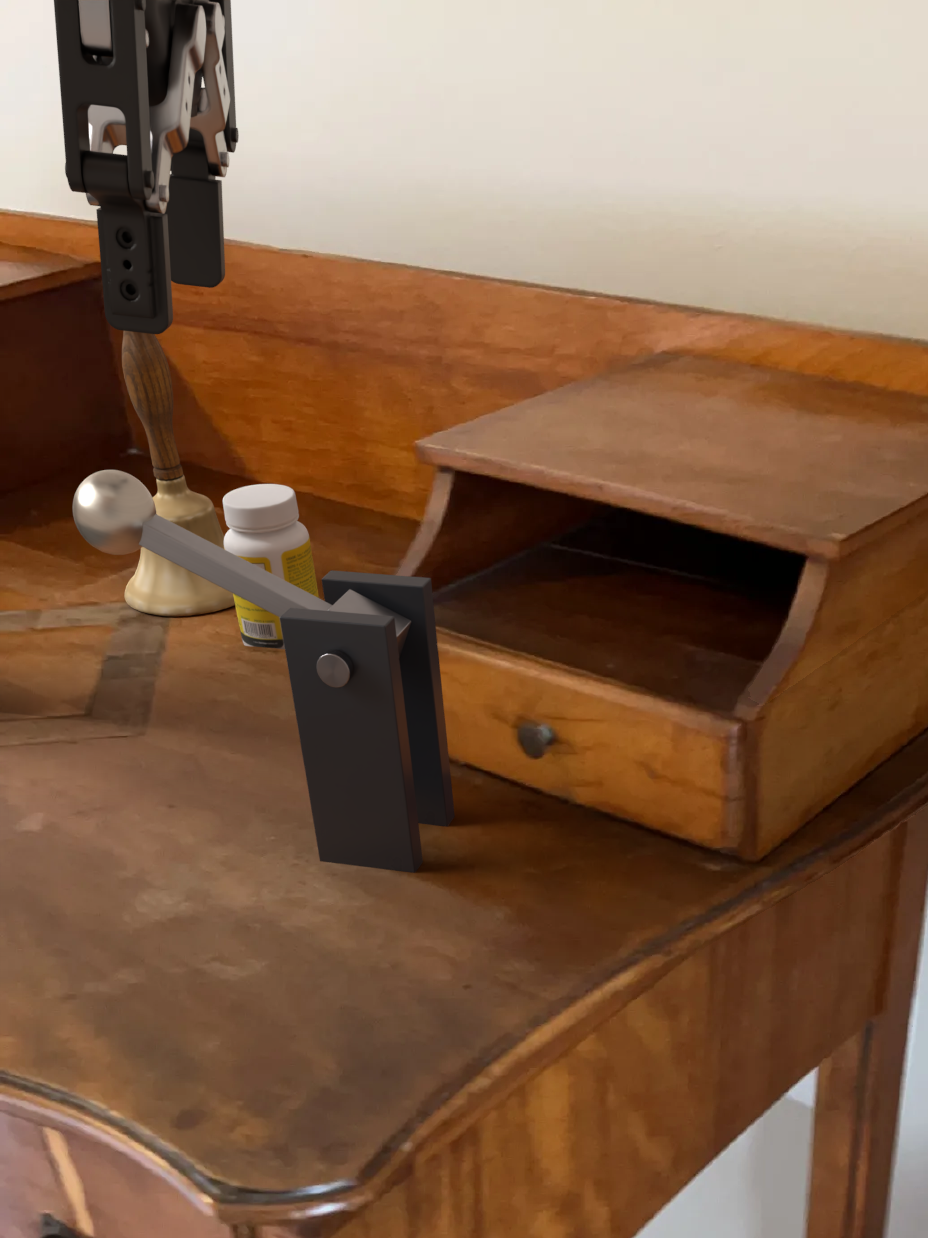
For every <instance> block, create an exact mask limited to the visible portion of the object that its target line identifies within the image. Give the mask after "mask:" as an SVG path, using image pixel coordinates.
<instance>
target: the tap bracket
mask: <svg viewBox="0 0 928 1238" xmlns="http://www.w3.org/2000/svg"><path fill="white" fill-rule="evenodd" d="M321 585H322V593H323V599H324V601H325V602H327V603H329V604H331V605H334V604H335V603H336V602H337V601H338V600H339V599H340V598H341V597H342V596H343V595H344V594H345V593H346V592H347V591H348V590H349V589H351V590H353V591H355V592H357V593H358V594H360V595H362V596H364V597H366V598H368V599H370V600H372V601H374V602H376V603H378V604H380V605H382V606H384V607H386V608H387V609H389V610H391V611H393V612H395V613H397V614H399V615H401V616H403V617H405V618H407V619H409V620H411V625H410V628H409V631H408V634H407V637H406V640H405V642H404V645H403V648H402V651H401V654H400V657H399V653H398V644H397V636H396V627H395V619H394V617H393V616H383V615H371V614H359V613H347V612H335V611H323V610H311V609H299V608H289V609H288V610H287V611H286V612H285V613H284V614H283V615H282V616H280V622H281V629H282V635H283V641H284V647H285V649H284V653H285V656H286V657H285V658H286V663H287V664H286V665H287V670H288V677H289V682H290V688H291V695H292V699H293V707H294V712H295V718H296V725H297V730H298V736H299V737H298V738H299V743H300V750H301V755H302V761H303V767H304V773H305V779H306V785H307V790H308V799H309V803H310V810H311V815H312V822H313V827H314V833H315V840H316V847H317V851H318V857H319V861H320V862H324V863H331V864H339V865H340V864H341V865H346V866H347V865H348V866H355V867H363V868H364V867H365V868H373V869H381V870H387V871H388V870H389V871H396V872H405V873H412V874H415V873H417V871H418V870H419V868H420V867H421V866H422V864H423V863H424V859H423V850H422V842H421V841H422V840H421V834H420V826H419V825H429V826H436V827H446V828H447V827H449V825H450V824H451V822H453V820H454V818H455V817H456V816H455V806H454V795H453V787H452V785H453V784H452V775H451V765H450V756H449V755H450V754H449V746H448V736H447V726H446V725H447V724H446V715H445V705H444V695H443V686H442V676H441V667H440V666H441V665H440V654H439V646H438V645H439V644H438V636H437V626H436V614H435V605H434V595H433V586H432V578H431V577H422V576H409V575H397V574H382V573H370V572H357V571H346V570H345V571H343V570H330V571H328V573H326V574H325V575H324V576H323V577H322V578H321Z"/></svg>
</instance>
